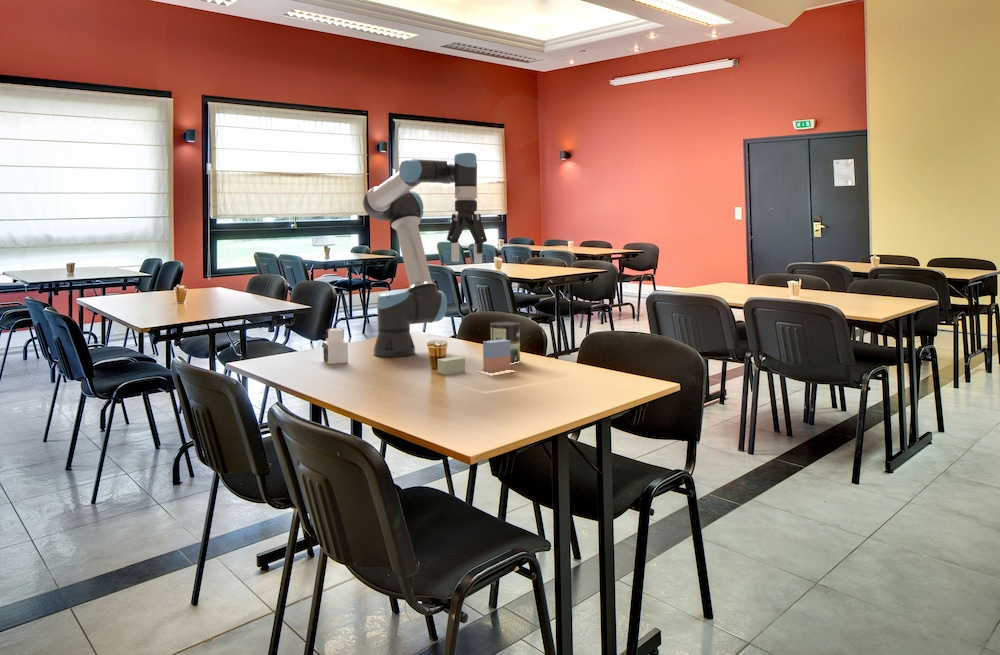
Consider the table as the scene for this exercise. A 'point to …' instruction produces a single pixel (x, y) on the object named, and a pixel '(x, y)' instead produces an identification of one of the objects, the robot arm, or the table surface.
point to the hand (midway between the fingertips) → (466, 262)
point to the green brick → (451, 365)
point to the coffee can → (508, 336)
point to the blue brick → (496, 348)
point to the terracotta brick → (496, 364)
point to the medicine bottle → (335, 347)
